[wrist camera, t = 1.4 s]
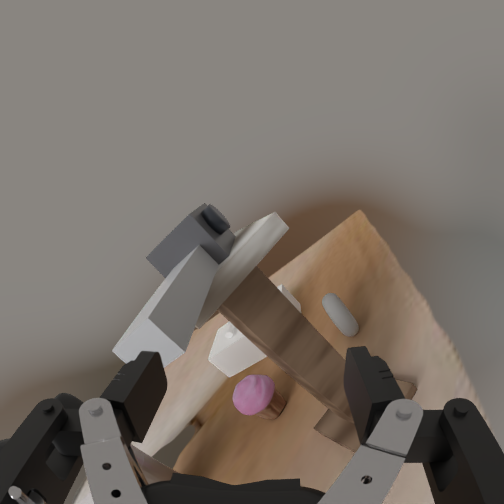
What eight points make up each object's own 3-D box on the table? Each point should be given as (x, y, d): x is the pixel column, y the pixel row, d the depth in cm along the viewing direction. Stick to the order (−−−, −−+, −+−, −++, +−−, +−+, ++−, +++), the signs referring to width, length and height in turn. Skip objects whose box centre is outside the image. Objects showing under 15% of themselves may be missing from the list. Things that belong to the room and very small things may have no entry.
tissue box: (237, 346, 89) (212, 324, 87) (301, 304, 81) (276, 278, 79) (230, 378, 76) (201, 354, 73) (303, 335, 68) (274, 305, 66)
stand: (320, 433, 39) (163, 303, 33) (361, 375, 44) (229, 234, 37) (371, 461, 28) (181, 311, 22) (417, 389, 33) (274, 211, 26)
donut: (368, 337, 50) (340, 303, 48) (353, 348, 51) (324, 316, 49) (352, 313, 60) (327, 282, 58) (340, 323, 60) (313, 293, 58)
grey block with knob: (216, 328, 13) (138, 249, 12) (131, 390, 15) (68, 331, 14) (242, 230, 32) (211, 196, 31) (195, 271, 34) (166, 240, 32)
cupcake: (299, 392, 51) (266, 364, 49) (282, 430, 45) (245, 404, 43) (269, 393, 58) (237, 368, 56) (252, 427, 52) (217, 402, 50)
